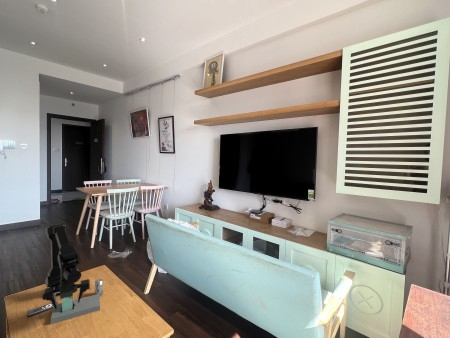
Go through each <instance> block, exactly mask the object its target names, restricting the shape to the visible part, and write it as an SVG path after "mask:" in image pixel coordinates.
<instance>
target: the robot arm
mask: <svg viewBox="0 0 450 338" xmlns="http://www.w3.org/2000/svg"><path fill="white" fill-rule="evenodd" d="M44 233H45V235H46V238H47V239H48V240H49V241H50V267H49V269H48V271H47V276H46V278H45V279H44V280H45V282H44V283H45V286H46V288H45V289H44V290H43V293H42V300H43V301H48V302H49V301H50V302H51V304H52V305H53V307H55V309H56V308H57V304H58V303H57V297H58V296H59V297H60V299H61V300H62V299H63V298H66V297H71V296H72V295H74V293H76V292H78V289H79V292H78V298H77V299H78V303H79V301H80V299H81V298H82V297H83V294H84V293H85V292H87V290H90V288H91V287H90V285H91V284H90V282H91V281H90V279H89V278H88V279H83V280H81V281H80V283H77V282H78V281H79V280H80V279H81V278H82V272H81V271H80V270H79V269H78V268H77V265H80V263H81V258H80V253H79V252H78V250H77V249H76V246H75V245H72V244H71V243H70V240H69V237H68V234H67V225H66V224H62V223H56V224H50V225H48V226H47V227H45V228H44Z"/></svg>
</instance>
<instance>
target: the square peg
mask: <svg viewBox="0 0 450 338" xmlns="http://www.w3.org/2000/svg"><path fill="white" fill-rule="evenodd" d="M73 295H74V294H73ZM73 295H72V296H71V297H66V298H63V299H61V303H62V311H61V313H62V312H66V311H69V310H73V309H74V308H73V300H74V298H73Z"/></svg>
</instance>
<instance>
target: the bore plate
mask: <svg viewBox="0 0 450 338" xmlns="http://www.w3.org/2000/svg"><path fill="white" fill-rule="evenodd" d="M100 297H101V296H100ZM100 297H99V294H96V295H95V294H93V295H89V296H85V297H81V299H80V301H79V303H78V298H77V299H73V309H72V310H69V311H66V312H62V302H61V303H57V308H56V309H55V307H54V306H53V307H52V312H51V316H50V325H53V324H56V323H59V322H64V321H67V320H70V319H74V318H77V317H80V316H85V315H88V314H91V313H94V312H95V313H96V312H98V311H100V310H101V302H100V301H101V300H100V299H101V298H100Z"/></svg>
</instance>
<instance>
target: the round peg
mask: <svg viewBox="0 0 450 338" xmlns="http://www.w3.org/2000/svg"><path fill="white" fill-rule="evenodd" d="M96 294H99V297H101V296H103V295H104V279H102V278H98V279H96V280H95V281H94V295H96Z"/></svg>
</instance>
